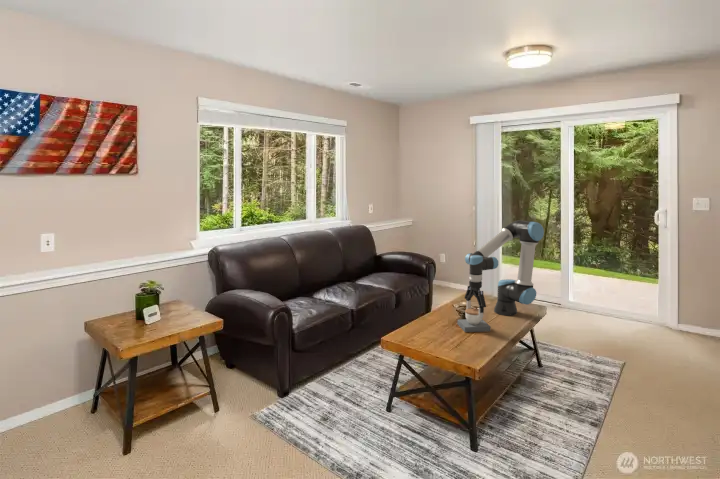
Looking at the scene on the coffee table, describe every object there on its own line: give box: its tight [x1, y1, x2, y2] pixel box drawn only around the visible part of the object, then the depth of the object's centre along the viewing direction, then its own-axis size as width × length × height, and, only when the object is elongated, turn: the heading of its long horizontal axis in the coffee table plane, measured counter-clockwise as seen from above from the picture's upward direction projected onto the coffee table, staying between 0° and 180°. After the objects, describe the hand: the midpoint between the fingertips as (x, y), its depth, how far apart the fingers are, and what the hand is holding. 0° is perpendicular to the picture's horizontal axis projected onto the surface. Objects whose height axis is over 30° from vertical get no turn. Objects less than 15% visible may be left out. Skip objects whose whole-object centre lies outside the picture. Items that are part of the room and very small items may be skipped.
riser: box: [457, 318, 491, 333], centre depth 259 cm, size 16×14×3 cm
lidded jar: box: [464, 307, 483, 324], centre depth 258 cm, size 11×11×9 cm
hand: (474, 314), depth 258 cm, fingers open, 13 cm apart
